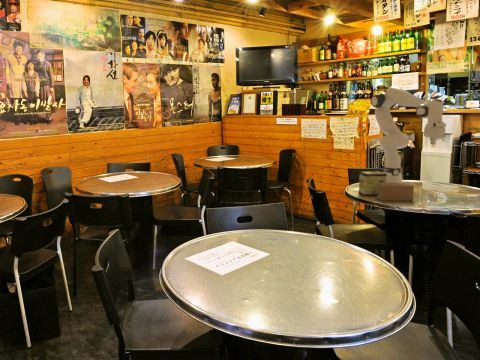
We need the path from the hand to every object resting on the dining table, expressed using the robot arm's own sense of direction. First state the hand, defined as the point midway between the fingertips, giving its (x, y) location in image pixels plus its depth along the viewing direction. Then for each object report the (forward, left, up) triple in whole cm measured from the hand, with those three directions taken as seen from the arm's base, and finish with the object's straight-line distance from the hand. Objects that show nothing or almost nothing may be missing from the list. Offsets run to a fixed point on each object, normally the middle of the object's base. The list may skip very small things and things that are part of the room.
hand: (432, 144), depth 286 cm
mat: (+13, -30, -35) cm, 48 cm away
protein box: (-6, -38, -35) cm, 52 cm away
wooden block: (+12, -19, -30) cm, 37 cm away
